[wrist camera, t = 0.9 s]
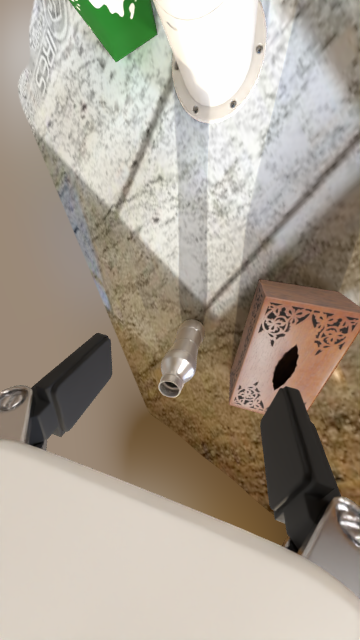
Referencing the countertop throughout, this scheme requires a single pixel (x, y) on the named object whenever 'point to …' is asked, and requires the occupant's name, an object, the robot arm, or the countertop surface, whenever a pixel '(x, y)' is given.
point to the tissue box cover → (290, 343)
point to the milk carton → (118, 23)
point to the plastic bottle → (181, 358)
